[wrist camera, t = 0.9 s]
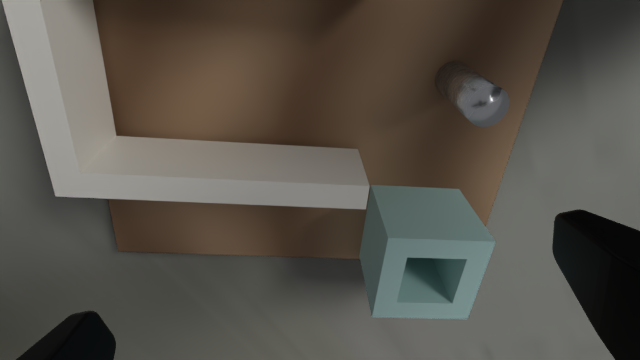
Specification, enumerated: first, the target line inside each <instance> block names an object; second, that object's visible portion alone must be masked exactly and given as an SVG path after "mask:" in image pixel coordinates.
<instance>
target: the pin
mask: <svg viewBox="0 0 640 360" xmlns="http://www.w3.org/2000/svg"><path fill="white" fill-rule="evenodd" d="M435 85H436V88H437V90H438V91H439V92H440V93H441V94H442V95H443V96H444V97H445V98H446V99H447V100H448V101H449V102H451V103H452V104H453V105H454V106H455V107H456V108H457V109H458V110H459V111H460V112H461V113H462V114H463V115H464V116H465V117H466V118H467V119H468V120H469V121H470V122H471V123H473V124H474V125H476V126H479V127H488V126H492V125H494V124H496V123H498V122H499V121H500V120H501V119H502V118H503V117H504V116H505V114H506V113H507V111H508V108H509V97H508V94H507V93H506V91H504V90H503V89H502V88H500V87H499V86H497V85H496V84H494V83H493V82H491V81H489V80H488V79H486V78H485V77H483V76H482V75H480V74H479V73H477V72H476V71H474V70H473V69H471V68H469V67H468V66H466V65H465V64H463V63H461V62H458V61H452V62H449V63H446V64H445V65H443V66H442V67H441V68H440V69H439V71H438V72H437V74H436V78H435Z"/></svg>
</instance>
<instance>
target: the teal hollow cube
mask: <svg viewBox="0 0 640 360" xmlns="http://www.w3.org/2000/svg"><path fill="white" fill-rule="evenodd" d="M495 243H496V241H495V240H494V238H493V237H492V236H491V234H490V233H489V231H488V230H487V228H486V227H485V226H484V224H483V223H482V221H481V220H480V218H479V217H478V215H477V214H476V213H475V211H474V210H473V208H472V207H471V205H470V204H469V202H468V201H467V200H466V198H465V197H464V195H463V194H462V192H461V191H460V190H459V189H449V188H428V187H407V186H386V185H371V188H370V194H369V200H368V206H367V212H366V218H365V224H364V230H363V236H362V242H361V249H360V255H359V257H360V262H361V267H362V272H363V276H364V281H365V286H366V291H367V296H368V300H369V305H370V310H371V315H372V317H379V318H432V319H468V316H469V314H470V311H471V308H472V305H473V303H474V300H475V297H476V295H477V292H478V289H479V286H480V284H481V281H482V278H483V275H484V273H485V270H486V267H487V265H488V262H489V259H490V256H491V254H492V251H493V248H494V245H495Z"/></svg>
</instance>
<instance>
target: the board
mask: <svg viewBox="0 0 640 360" xmlns="http://www.w3.org/2000/svg"><path fill="white" fill-rule="evenodd" d="M562 3H563V0H93V4H94V10H95V16H96V22H97V27H98V33H99V39H100V45H101V50H102V56H103V62H104V68H105V73H106V79H107V85H108V90H109V96H110V102H111V108H112V113H113V119H114V125H115V131H116V136H129V137H147V138H165V139H184V140H202V141H220V142H239V143H257V144H275V145H294V146H312V147H330V148H349V149H358V151H359V154H360V157H361V160H362V164H363V167H364V170H365V173H366V176H367V179H368V182H369V186H370V187H369V193H368V200H369V194H370V188H371V185H386V186H407V187H428V188H449V189H459V190H460V191H461V192H462V194H463V195H464V197H465V198H466V200H467V201H468V202H469V204H470V205H471V207H472V208H473V210H474V211H475V213H476V214H477V215H478V217H479V218H480V220H481V221H482V223H483V224H484V226H485V227H486V224H487V221H488V218H489V215H490V212H491V209H492V206H493V203H494V201H495V198H496V195H497V192H498V189H499V186H500V183H501V180H502V177H503V174H504V171H505V168H506V166H507V163H508V160H509V157H510V154H511V151H512V148H513V145H514V142H515V139H516V136H517V134H518V131H519V128H520V125H521V122H522V119H523V116H524V113H525V110H526V107H527V104H528V102H529V99H530V96H531V93H532V90H533V87H534V84H535V81H536V78H537V75H538V72H539V69H540V67H541V64H542V61H543V58H544V55H545V52H546V49H547V46H548V43H549V40H550V37H551V35H552V32H553V29H554V26H555V23H556V20H557V17H558V14H559V11H560V8H561V5H562ZM452 61H458V62H461V63H463V64H465V65H466V66H468V67H469V68H471V69H473V70H474V71H476V72H477V73H479V74H480V75H482V76H483V77H485V78H486V79H488V80H489V81H491V82H493V83H494V84H496V85H497V86H499V87H500V88H502V89H503V90H504V91H506V93H507V94H508V97H509V108H508V111H507V113H506V114H505V116H504V117H503V118H502V119H501V120H500V121H499V122H498V123H496V124H494V125H492V126H488V127H479V126H476V125H474V124H473V123H471V122H470V121H469V120H468V119H467V118H466V117H465V116H464V115H463V114H462V113H461V112H460V111H459V110H458V109H457V108H456V107H455V106H454V105H453V104H452V103H451V102H449V101H448V100H447V99H446V98H445V97H444V96H443V95H442V94H441V93H440V92H439V91H438V90H437V88H436V85H435V78H436V74H437V72H438V71H439V69H440V68H441V67H442V66H443V65H445V64H446V63H449V62H452ZM368 200H367V206H368ZM108 203H109V208H110V213H111V218H112V223H113V228H114V233H115V238H116V243H117V247H118V252H149V253H181V254H213V255H245V256H277V257H309V258H341V259H360V257H359V255H360V249H361V242H362V236H363V230H364V224H365V218H366V212H367V206H366V209H343V208H319V207H295V206H271V205H247V204H223V203H199V202H176V201H152V200H128V199H108Z"/></svg>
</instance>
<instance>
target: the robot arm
mask: <svg viewBox="0 0 640 360" xmlns="http://www.w3.org/2000/svg"><path fill="white" fill-rule="evenodd" d="M552 248H553V255H554V258H555V260H556V262H557V264H558V266H559V267H560V269H561V271H562V273H563V275H564V276H565V278H566V280H567V282H568V283H569V285H570V287H571V289H572V290H573V292H574V294H575V296H576V298H577V299H578V301H579V303H580V305H581V306H582V308H583V310H584V312H585V313H586V315H587V317H588V319H589V320H590V322H591V324H592V326H593V327H594V329H595V331H596V332H597V334H598V335H599V337H600V338H601V340H602V341H603V343H604V344H605V346H606V347H607V349H608V350H609V351H610V353H611V354H612V356H613V357H614V358H615V360H640V231H639V230H636V229H634V228H631V227H628V226H625V225H623V224H620V223H617V222H615V221H612V220H609V219H606V218H604V217H601V216H598V215H596V214H593V213H590V212H588V211H585V210H573V211H568V212H563V213H560V214H558V215H557V216H556V217H555V221H554V233H553V246H552ZM115 349H116V342H115V338H114V336H113V334H112V333H111V331H110V330H109V329H108V327H107V326H106V324H105V323H104V322H103V320H102V319H101V317H100V316H99V315H98V314H97V313H96V312H94V311H84V312H80V313H75V314H72V315H70V316H69V317H67V318H66V319H65V320H64V321H62V322H61V323H60V324H59V325H58V326H56V327H55V328H54V329H53V330H51V331H50V332H49V333H48V334H47V335H45V336H44V337H43V338H42V339H41V340H39V341H38V342H37V343H36V344H34V345H33V346H32V347H31V348H30V349H28V350H27V351H26V352H25V353H24V354H22V355H21V356H20V357H19V358H17V359H16V360H113V359H114V354H115Z"/></svg>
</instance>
